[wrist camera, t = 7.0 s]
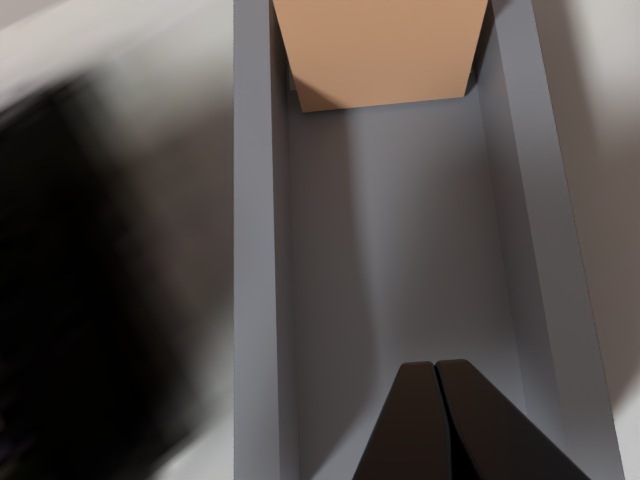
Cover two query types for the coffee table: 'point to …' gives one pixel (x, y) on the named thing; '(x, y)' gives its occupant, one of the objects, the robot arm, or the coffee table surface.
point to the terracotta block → (379, 50)
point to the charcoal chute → (404, 256)
